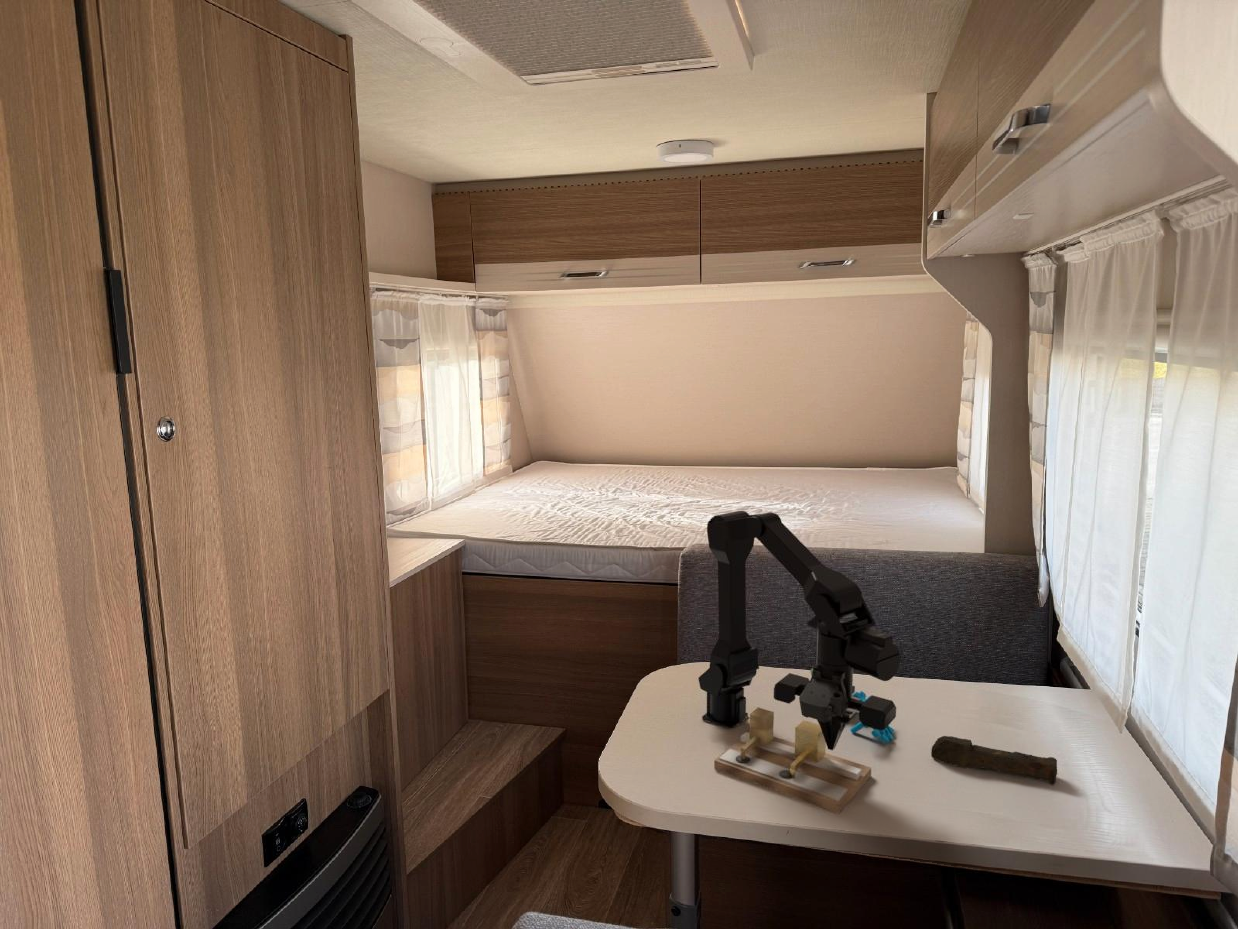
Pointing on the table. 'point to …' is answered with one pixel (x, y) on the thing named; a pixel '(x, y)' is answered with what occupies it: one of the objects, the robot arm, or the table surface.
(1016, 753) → the hand tool
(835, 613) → the robot arm
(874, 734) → the gear
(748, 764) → the wooden base with blocks
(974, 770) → the table surface
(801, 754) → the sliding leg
